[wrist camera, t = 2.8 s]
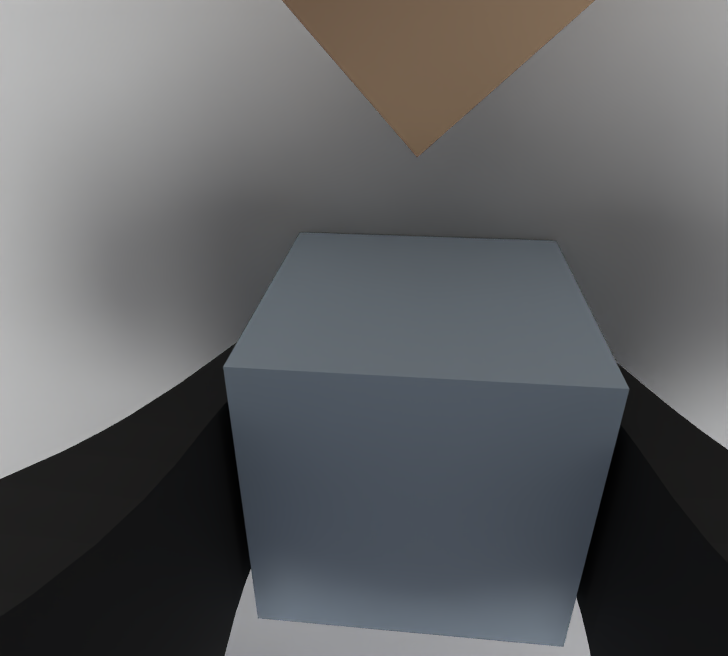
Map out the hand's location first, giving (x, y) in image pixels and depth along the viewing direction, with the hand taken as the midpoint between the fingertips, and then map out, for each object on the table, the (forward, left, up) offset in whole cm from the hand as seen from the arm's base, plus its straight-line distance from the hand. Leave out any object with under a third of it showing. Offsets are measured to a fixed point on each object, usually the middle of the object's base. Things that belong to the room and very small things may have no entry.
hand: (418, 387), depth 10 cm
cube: (0, 0, -1) cm, 1 cm away
